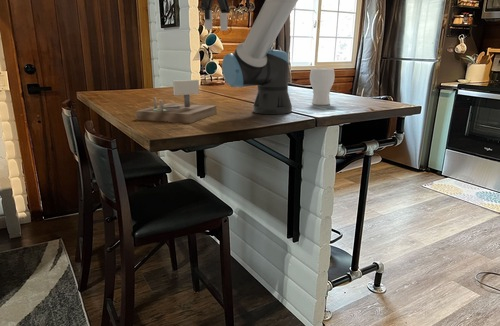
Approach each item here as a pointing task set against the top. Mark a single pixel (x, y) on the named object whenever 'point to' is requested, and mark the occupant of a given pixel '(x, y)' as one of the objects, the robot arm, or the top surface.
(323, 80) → the cup
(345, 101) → the top surface
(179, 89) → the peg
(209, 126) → the top surface
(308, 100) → the top surface
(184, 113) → the board
